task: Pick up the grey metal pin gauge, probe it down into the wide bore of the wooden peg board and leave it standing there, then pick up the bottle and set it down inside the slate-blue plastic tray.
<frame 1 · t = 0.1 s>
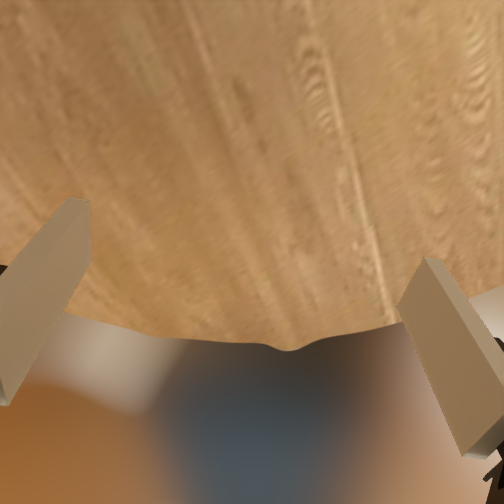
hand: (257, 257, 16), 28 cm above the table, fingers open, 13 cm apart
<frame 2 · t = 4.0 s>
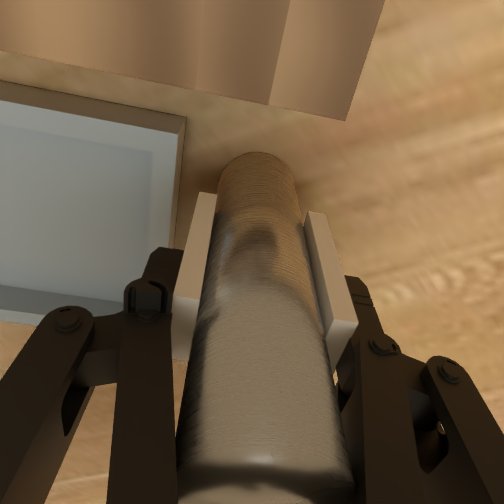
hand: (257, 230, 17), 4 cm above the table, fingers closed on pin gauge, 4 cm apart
pin gauge: (256, 188, 21), on the table, touching gripper
tray: (8, 204, 21), on the table
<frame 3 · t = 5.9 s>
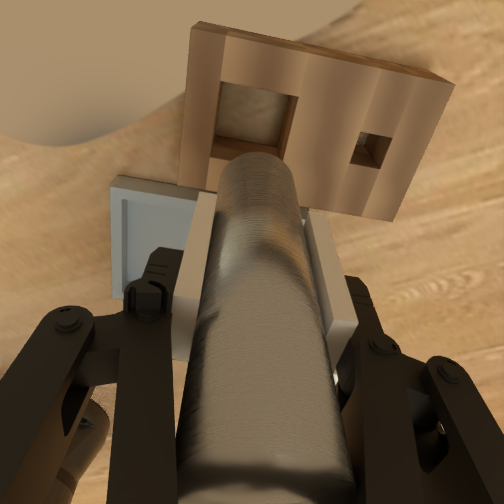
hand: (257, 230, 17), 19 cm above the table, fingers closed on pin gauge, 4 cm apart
pin gauge: (256, 188, 21), point 14 cm above the table, touching gripper
wooden peg board: (299, 118, 33), on the table
tray: (207, 247, 40), on the table
when the fingers open (7 cm above the table, at t = 8.3 s): pin gauge drops 2 cm, resting in wooden peg board.
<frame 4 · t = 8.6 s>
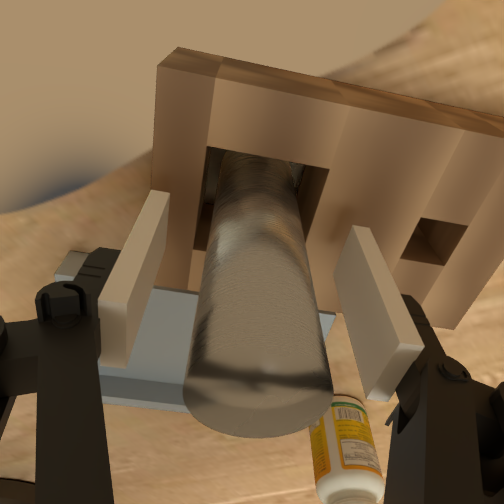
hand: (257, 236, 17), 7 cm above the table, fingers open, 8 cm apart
pin gauge: (255, 169, 23), resting in wooden peg board
wooden peg board: (322, 182, 23), on the table
supplement bottle: (335, 409, 37), on the table
tray: (194, 335, 31), on the table
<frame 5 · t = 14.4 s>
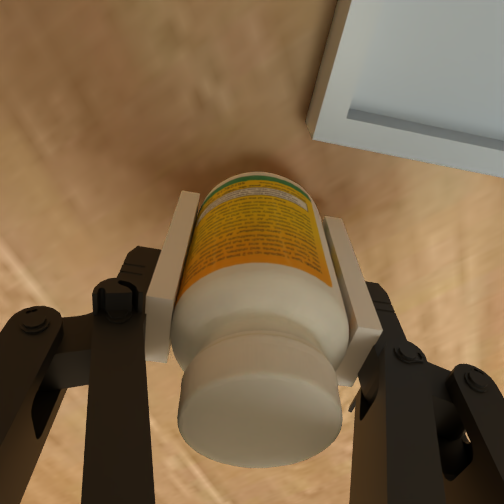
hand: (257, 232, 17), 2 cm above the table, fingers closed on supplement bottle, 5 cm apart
supplement bottle: (257, 221, 17), point 2 cm above the table, touching gripper
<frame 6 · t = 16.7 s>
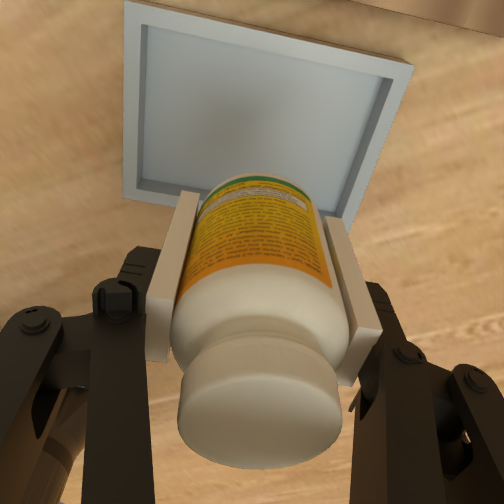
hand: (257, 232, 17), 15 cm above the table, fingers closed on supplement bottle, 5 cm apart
supplement bottle: (257, 221, 17), point 14 cm above the table, touching gripper
tray: (254, 127, 29), on the table
when the fingers open (2 cm above the table, at t = 19.2 s): supplement bottle stays where it is, resting on tray.
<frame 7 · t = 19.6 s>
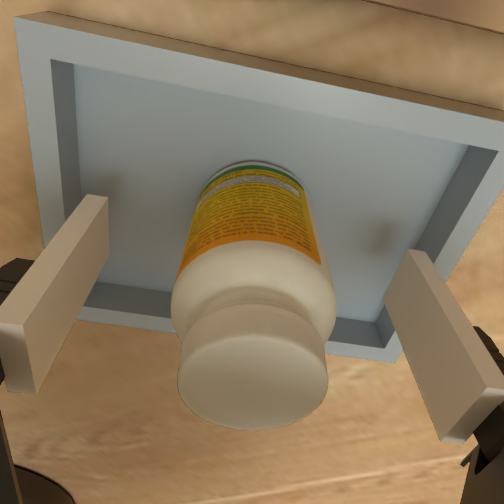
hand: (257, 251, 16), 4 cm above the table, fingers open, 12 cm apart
supplement bottle: (253, 210, 18), resting on tray
tray: (256, 209, 19), on the table
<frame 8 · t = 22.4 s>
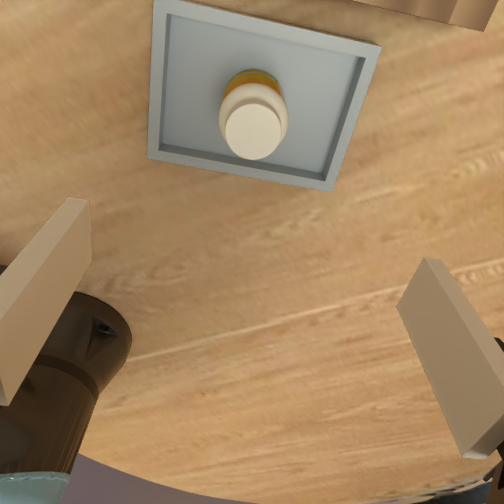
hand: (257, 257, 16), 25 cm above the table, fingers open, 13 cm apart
supplement bottle: (253, 98, 35), resting on tray
tray: (255, 99, 36), on the table
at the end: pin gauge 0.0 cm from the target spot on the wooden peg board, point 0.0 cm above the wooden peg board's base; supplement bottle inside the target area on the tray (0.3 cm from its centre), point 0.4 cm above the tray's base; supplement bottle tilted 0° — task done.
